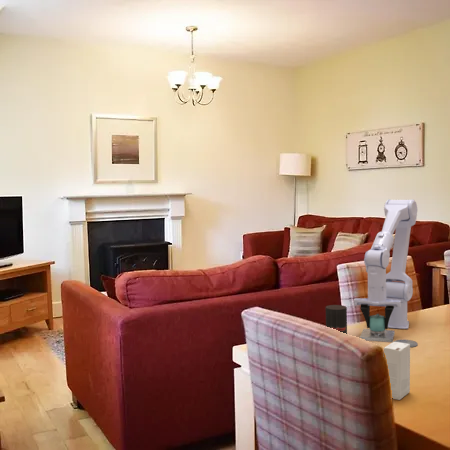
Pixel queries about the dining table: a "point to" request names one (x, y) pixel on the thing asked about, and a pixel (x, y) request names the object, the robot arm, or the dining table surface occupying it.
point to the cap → (377, 322)
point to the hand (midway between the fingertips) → (377, 327)
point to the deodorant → (337, 317)
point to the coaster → (408, 342)
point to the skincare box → (398, 368)
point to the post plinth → (378, 335)
